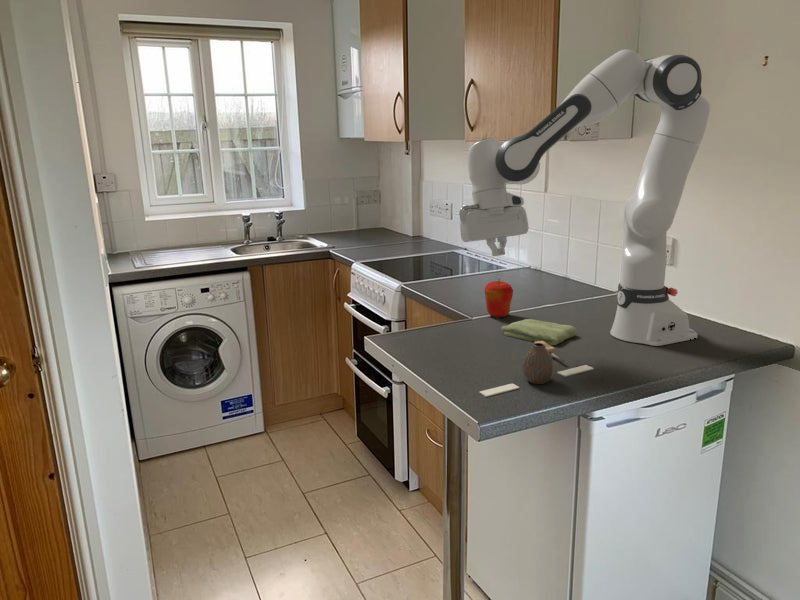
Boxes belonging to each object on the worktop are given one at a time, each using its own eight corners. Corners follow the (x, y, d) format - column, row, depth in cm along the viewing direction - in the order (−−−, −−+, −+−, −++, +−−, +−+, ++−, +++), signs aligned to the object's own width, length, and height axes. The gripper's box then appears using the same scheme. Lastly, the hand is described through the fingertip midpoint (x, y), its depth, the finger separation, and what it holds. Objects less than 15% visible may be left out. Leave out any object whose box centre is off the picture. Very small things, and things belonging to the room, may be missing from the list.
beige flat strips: (585, 366, 147) (586, 364, 147) (593, 369, 144) (593, 368, 144) (479, 392, 133) (479, 391, 133) (485, 397, 131) (485, 395, 131)
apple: (478, 315, 189) (479, 278, 186) (497, 310, 194) (498, 274, 191) (498, 321, 183) (499, 283, 179) (517, 316, 187) (519, 279, 184)
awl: (534, 350, 158) (534, 341, 158) (542, 349, 159) (542, 340, 158) (558, 366, 147) (558, 357, 147) (567, 365, 148) (567, 355, 147)
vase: (533, 372, 143) (534, 337, 141) (559, 380, 139) (560, 343, 136) (516, 381, 139) (517, 344, 136) (542, 389, 134) (543, 351, 132)
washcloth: (523, 324, 181) (524, 314, 180) (578, 336, 169) (579, 325, 168) (498, 335, 171) (498, 324, 171) (554, 349, 160) (554, 337, 159)
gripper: (465, 203, 150) (474, 259, 150) (528, 197, 160) (536, 249, 161) (451, 208, 155) (459, 261, 156) (512, 202, 165) (520, 252, 166)
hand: (499, 255), depth 158 cm, fingers closed
